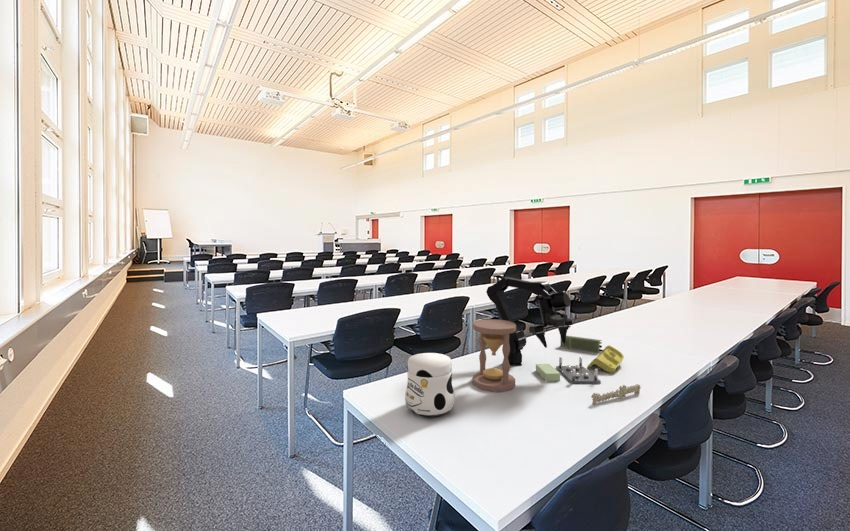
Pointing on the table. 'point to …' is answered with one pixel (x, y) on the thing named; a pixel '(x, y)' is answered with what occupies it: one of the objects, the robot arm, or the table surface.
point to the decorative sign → (616, 393)
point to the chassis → (578, 373)
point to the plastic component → (608, 359)
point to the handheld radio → (582, 344)
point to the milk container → (429, 384)
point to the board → (548, 372)
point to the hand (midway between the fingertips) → (555, 345)
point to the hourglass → (494, 339)
